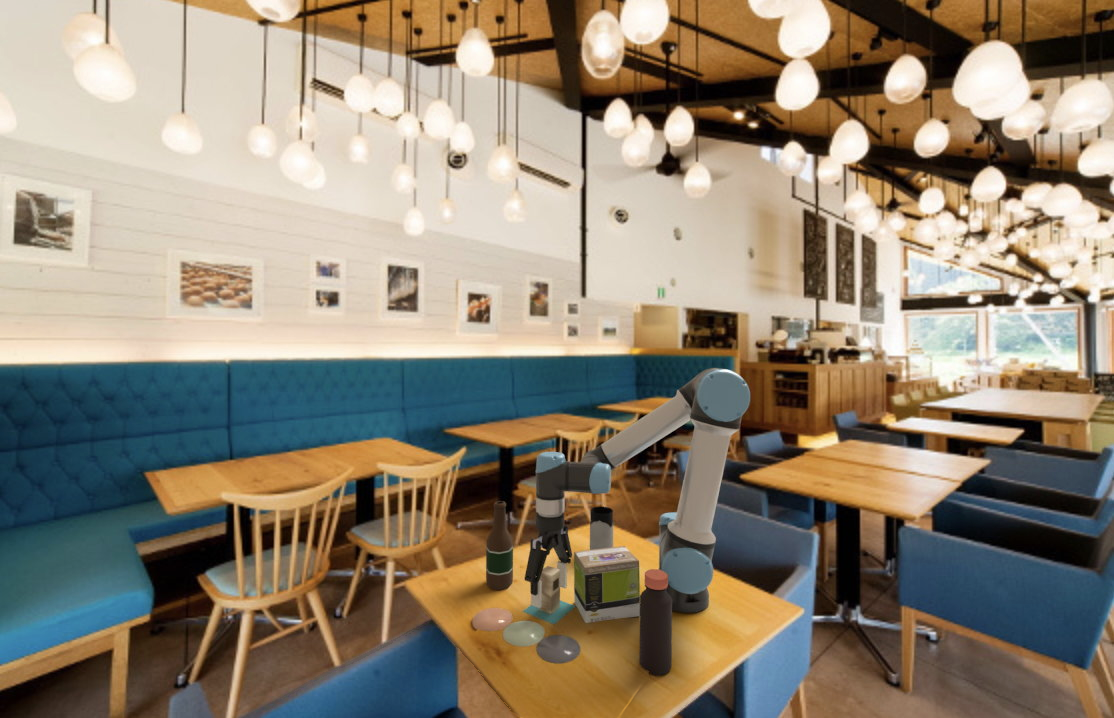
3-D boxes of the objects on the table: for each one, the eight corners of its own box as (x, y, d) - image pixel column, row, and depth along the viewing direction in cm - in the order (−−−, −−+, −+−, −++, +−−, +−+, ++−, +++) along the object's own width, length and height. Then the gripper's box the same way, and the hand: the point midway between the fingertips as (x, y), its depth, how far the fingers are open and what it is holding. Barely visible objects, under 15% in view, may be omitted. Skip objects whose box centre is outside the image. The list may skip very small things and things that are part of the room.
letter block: (560, 607, 121) (560, 569, 121) (551, 614, 118) (551, 575, 117) (547, 602, 123) (547, 565, 123) (538, 609, 120) (538, 571, 120)
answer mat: (575, 608, 122) (575, 606, 122) (554, 626, 113) (554, 624, 113) (545, 596, 127) (545, 594, 127) (522, 613, 119) (522, 611, 119)
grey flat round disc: (588, 647, 106) (588, 644, 106) (564, 672, 97) (564, 669, 97) (552, 632, 111) (552, 629, 111) (527, 654, 103) (527, 651, 103)
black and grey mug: (585, 558, 151) (586, 513, 151) (594, 541, 165) (594, 499, 165) (612, 562, 149) (612, 516, 149) (618, 544, 162) (618, 502, 162)
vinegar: (644, 677, 96) (645, 582, 96) (635, 656, 103) (636, 567, 102) (676, 675, 97) (677, 581, 96) (665, 654, 103) (666, 566, 103)
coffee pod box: (625, 597, 127) (625, 544, 127) (640, 617, 118) (641, 560, 117) (573, 604, 124) (573, 549, 123) (584, 626, 114) (584, 566, 114)
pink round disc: (520, 618, 117) (520, 616, 117) (494, 638, 109) (494, 636, 109) (491, 606, 123) (491, 603, 122) (464, 624, 114) (464, 621, 114)
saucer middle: (552, 632, 111) (552, 629, 111) (527, 654, 103) (527, 651, 103) (520, 618, 117) (520, 616, 117) (494, 638, 109) (494, 636, 109)
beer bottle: (518, 583, 135) (518, 501, 134) (498, 593, 129) (499, 508, 128) (500, 574, 140) (500, 496, 139) (480, 584, 134) (480, 502, 133)
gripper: (562, 498, 132) (562, 574, 132) (510, 522, 112) (509, 611, 113) (585, 503, 127) (584, 581, 128) (534, 529, 108) (533, 622, 109)
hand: (549, 595), depth 120 cm, fingers open, 11 cm apart
